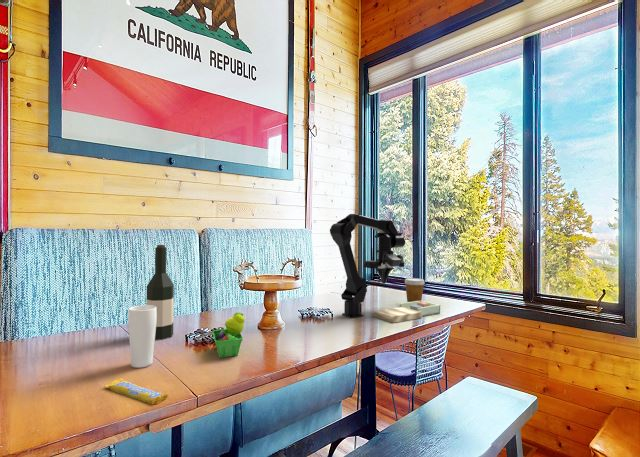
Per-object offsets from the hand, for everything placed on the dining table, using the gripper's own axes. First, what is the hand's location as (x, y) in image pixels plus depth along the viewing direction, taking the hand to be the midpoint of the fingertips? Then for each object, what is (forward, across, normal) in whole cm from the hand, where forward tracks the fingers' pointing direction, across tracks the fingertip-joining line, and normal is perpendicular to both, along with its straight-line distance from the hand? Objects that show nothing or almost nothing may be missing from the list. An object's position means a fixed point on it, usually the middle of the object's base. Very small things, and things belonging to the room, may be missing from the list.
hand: (383, 283), depth 164 cm
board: (+12, -2, -12) cm, 17 cm away
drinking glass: (+12, -98, -22) cm, 101 cm away
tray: (+12, +13, -9) cm, 20 cm away
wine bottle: (+12, -91, +2) cm, 92 cm away
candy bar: (+13, -100, -40) cm, 108 cm away
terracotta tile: (+10, +11, -11) cm, 18 cm away
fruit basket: (+12, -75, -22) cm, 79 cm away
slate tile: (+12, +9, -11) cm, 19 cm away
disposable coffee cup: (+12, +22, +4) cm, 25 cm away
